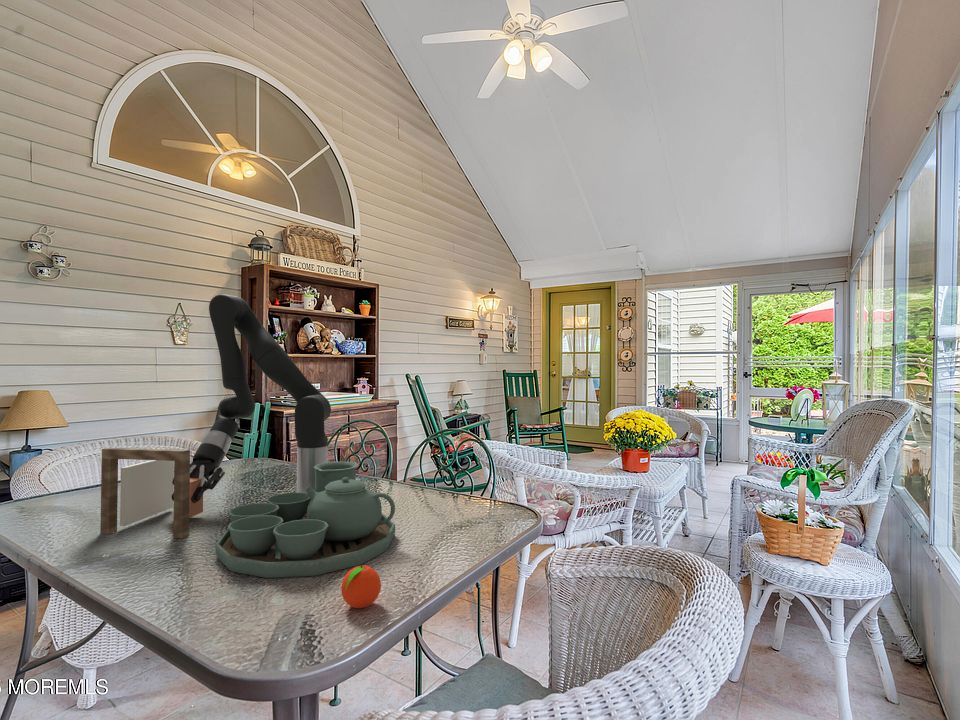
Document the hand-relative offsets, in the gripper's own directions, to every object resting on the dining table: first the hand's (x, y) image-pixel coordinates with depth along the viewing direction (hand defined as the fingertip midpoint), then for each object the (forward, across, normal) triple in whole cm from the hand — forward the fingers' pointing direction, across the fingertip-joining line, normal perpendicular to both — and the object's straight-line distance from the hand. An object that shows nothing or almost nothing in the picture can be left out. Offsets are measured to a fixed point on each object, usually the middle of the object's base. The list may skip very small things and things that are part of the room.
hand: (184, 500), depth 136 cm
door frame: (+12, -2, -4) cm, 13 cm away
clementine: (+33, +65, -24) cm, 77 cm away
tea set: (+13, +42, -4) cm, 44 cm away
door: (+3, -11, +3) cm, 12 cm away
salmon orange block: (+2, 0, +4) cm, 5 cm away
